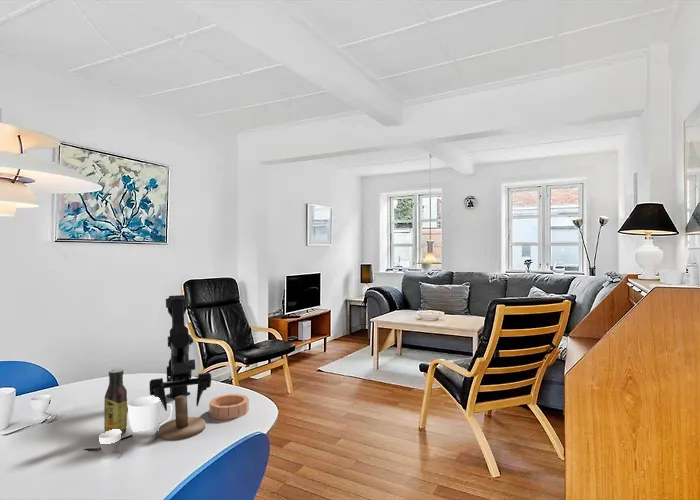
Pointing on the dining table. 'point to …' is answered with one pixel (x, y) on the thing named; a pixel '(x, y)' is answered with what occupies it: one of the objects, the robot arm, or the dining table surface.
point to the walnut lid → (181, 423)
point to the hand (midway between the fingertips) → (181, 407)
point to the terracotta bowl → (229, 406)
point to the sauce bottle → (115, 402)
